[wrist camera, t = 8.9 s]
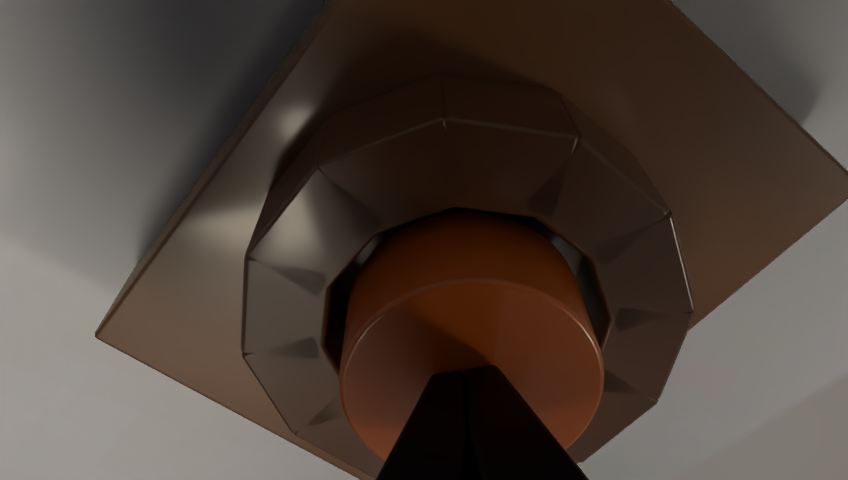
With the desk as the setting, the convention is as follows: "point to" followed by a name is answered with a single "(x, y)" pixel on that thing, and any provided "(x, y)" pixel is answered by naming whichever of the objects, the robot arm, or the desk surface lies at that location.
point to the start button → (467, 325)
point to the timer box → (472, 195)
